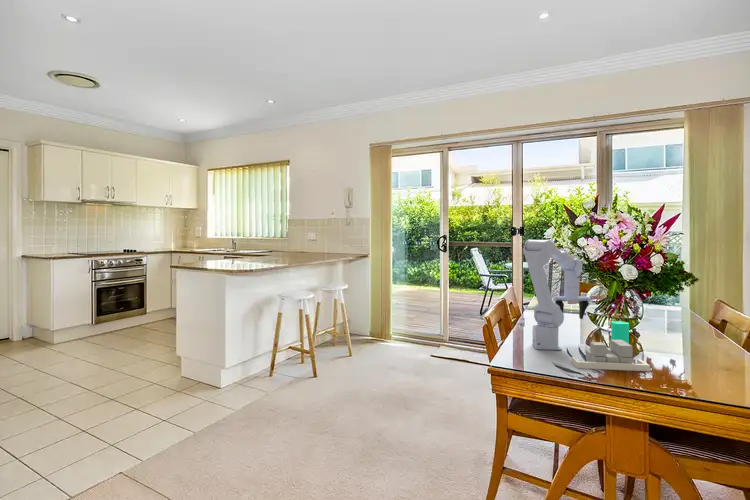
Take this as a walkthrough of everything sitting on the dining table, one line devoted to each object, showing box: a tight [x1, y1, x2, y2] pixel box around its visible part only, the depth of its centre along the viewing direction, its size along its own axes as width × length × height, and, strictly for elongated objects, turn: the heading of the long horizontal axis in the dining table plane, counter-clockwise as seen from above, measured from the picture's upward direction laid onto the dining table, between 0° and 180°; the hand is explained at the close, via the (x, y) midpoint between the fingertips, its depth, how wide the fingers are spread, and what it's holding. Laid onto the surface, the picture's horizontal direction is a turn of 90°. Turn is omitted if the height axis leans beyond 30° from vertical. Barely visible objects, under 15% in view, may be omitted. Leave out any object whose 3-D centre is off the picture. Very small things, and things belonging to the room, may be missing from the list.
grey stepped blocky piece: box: [585, 339, 634, 363], centre depth 140 cm, size 12×12×8 cm
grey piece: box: [570, 356, 651, 372], centre depth 136 cm, size 22×6×2 cm, turn 80°
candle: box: [610, 320, 630, 344], centre depth 156 cm, size 6×6×12 cm
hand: (571, 318), depth 169 cm, fingers open, 7 cm apart
